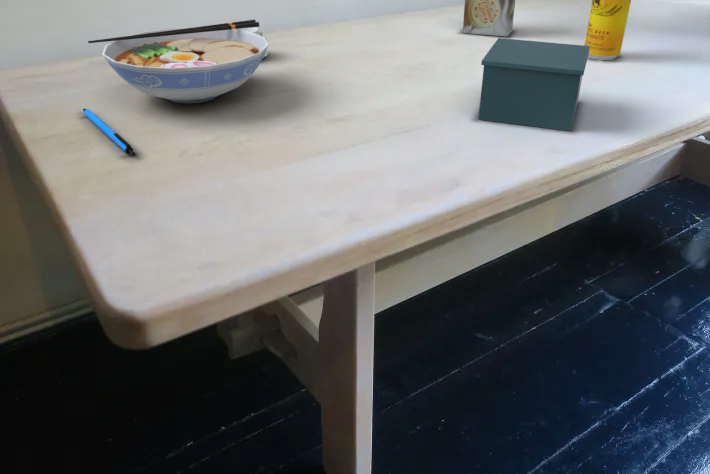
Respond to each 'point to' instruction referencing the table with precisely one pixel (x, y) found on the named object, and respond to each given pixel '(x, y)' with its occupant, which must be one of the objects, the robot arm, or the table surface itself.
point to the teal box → (532, 83)
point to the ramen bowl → (187, 60)
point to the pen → (109, 132)
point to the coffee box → (488, 17)
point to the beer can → (606, 28)
